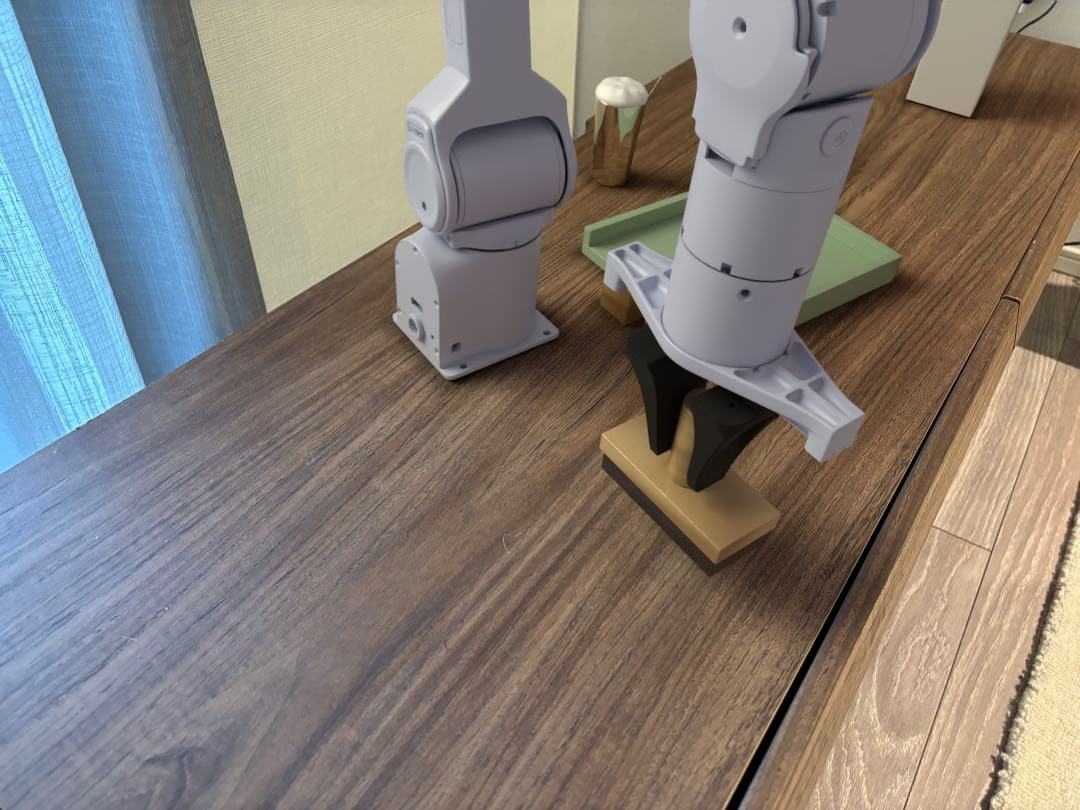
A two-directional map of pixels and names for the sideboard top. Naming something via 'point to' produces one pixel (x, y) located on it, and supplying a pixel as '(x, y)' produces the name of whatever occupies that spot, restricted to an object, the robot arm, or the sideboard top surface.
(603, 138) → the milkshake
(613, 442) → the brush
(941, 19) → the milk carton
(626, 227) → the tray
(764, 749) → the sideboard top surface
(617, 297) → the crumb
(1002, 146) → the sideboard top surface
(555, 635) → the sideboard top surface
